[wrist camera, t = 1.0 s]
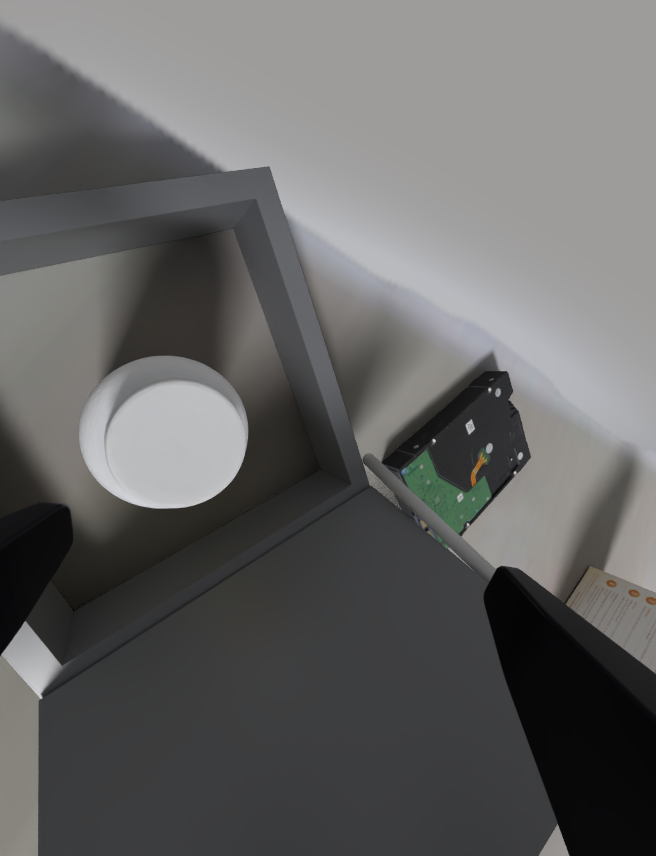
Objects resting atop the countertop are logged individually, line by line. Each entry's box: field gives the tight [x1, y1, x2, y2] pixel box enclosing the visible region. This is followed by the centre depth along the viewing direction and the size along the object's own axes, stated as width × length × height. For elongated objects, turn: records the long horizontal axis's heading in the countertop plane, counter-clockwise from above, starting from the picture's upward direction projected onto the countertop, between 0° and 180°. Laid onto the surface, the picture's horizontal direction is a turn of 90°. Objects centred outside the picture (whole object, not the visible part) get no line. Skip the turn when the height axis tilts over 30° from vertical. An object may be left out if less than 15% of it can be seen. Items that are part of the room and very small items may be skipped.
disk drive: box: [382, 371, 531, 549], centre depth 31 cm, size 10×3×15 cm
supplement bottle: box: [79, 356, 248, 508], centre depth 15 cm, size 6×6×10 cm
